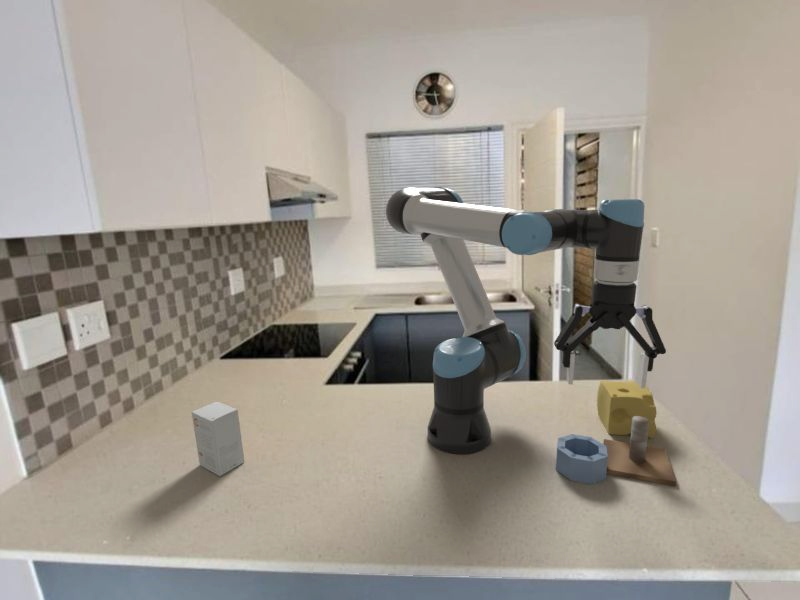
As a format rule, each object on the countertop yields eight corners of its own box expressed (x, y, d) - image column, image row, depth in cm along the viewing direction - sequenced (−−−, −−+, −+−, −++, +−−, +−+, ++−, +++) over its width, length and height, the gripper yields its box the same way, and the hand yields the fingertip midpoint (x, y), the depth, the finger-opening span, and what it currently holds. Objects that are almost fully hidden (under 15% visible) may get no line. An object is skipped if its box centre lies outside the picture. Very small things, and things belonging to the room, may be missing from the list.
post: (606, 473, 86) (610, 428, 84) (603, 442, 97) (606, 402, 95) (675, 486, 82) (681, 439, 79) (664, 452, 92) (668, 410, 90)
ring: (555, 477, 86) (556, 455, 84) (557, 452, 94) (558, 431, 93) (606, 487, 82) (608, 464, 81) (603, 460, 90) (605, 439, 89)
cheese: (655, 438, 98) (660, 399, 96) (605, 435, 100) (608, 396, 98) (640, 417, 108) (643, 380, 106) (595, 414, 110) (597, 378, 108)
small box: (245, 462, 95) (238, 408, 92) (219, 477, 90) (211, 421, 87) (224, 451, 99) (217, 400, 96) (198, 465, 94) (190, 411, 91)
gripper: (549, 284, 80) (543, 387, 85) (696, 286, 75) (680, 395, 80) (544, 277, 87) (538, 373, 92) (677, 278, 82) (663, 379, 87)
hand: (604, 383), depth 86 cm, fingers open, 13 cm apart
